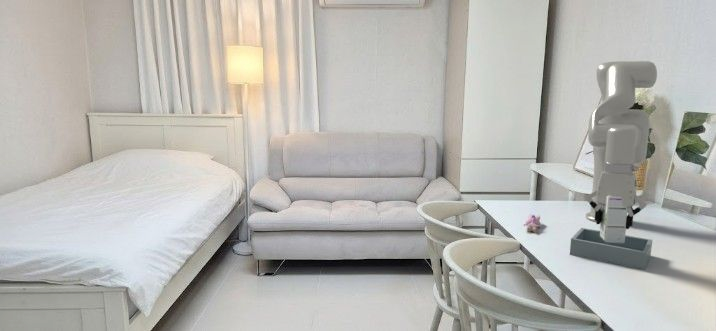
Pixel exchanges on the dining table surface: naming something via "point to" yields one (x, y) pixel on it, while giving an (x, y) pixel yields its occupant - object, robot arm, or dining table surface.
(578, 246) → the crate
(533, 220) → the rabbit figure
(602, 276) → the dining table surface
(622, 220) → the syrup box
